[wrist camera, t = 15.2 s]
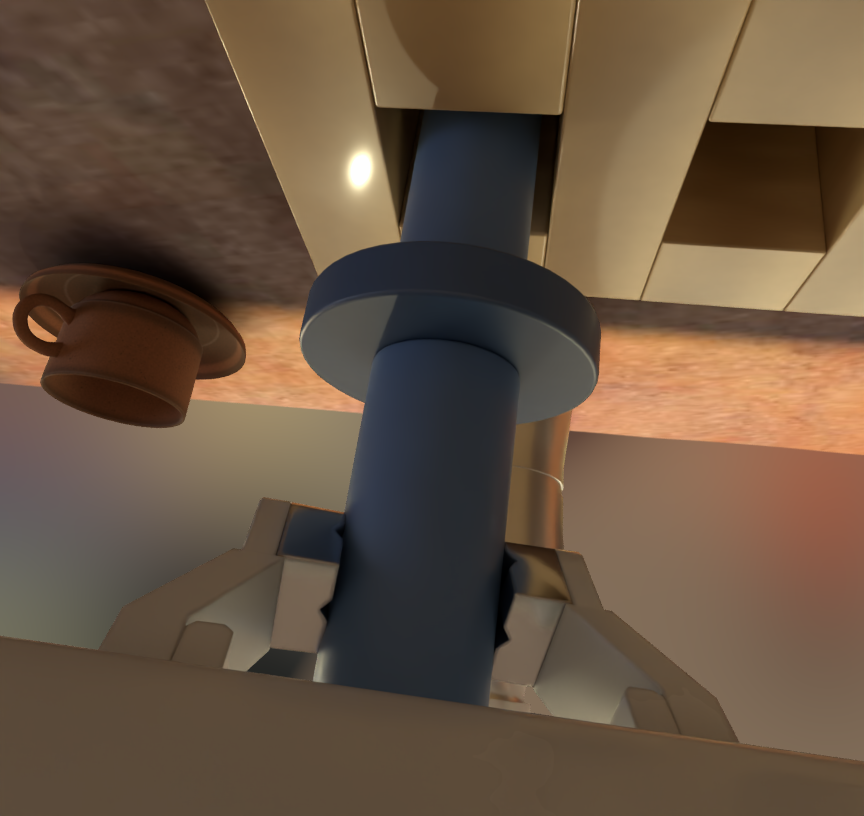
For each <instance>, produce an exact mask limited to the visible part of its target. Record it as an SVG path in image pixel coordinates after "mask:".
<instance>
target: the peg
mask: <svg viewBox="0 0 864 816" xmlns="http://www.w3.org/2000/svg"><path fill="white" fill-rule="evenodd" d="M541 120H542V114H523V113H498V112H474V111H450V110H426V109H424V114H423V120H422V125H421V131H420V136H419V142H418V147H417V152H416V158H415V163H414V169H413V174H412V180H411V185H410V191H409V196H408V201H407V207H406V212H405V218H404V223H403V229H402V234H401V240H400V242H396V243H390V244H383V245H377V246H373V247H369V248H366V249H362V250H359V251H356V252H354V253H351V254H348V255H346V256H344V257H342V258H341V259H339V260H337V261H335V262H333V263H332V264H331V265H330V266H328V267H327V268H326V269H325V270H323V272H322V273H321V274H320V275H319V276H318V278H317V279H316V280H315V281H314V283H313V285H312V287H311V290H310V293H309V297H308V301H307V306H306V310H305V314H304V318H303V323H302V327H301V332H300V338H299V340H300V347H301V351H302V353H303V356H304V358H305V360H306V361H307V363H308V364H309V366H310V367H311V368H312V369H313V370H314V371H315V372H316V373H317V374H318V375H319V376H320V377H321V378H322V379H324V380H325V381H326V382H327V383H329V384H330V385H332V386H333V387H335V388H336V389H338V390H340V391H341V392H343V393H345V394H347V395H349V396H351V397H353V398H355V399H357V400H359V401H362V402H364V403H365V405H364V410H363V416H362V421H361V426H360V432H359V437H358V442H357V448H356V454H355V458H354V464H353V469H352V475H351V480H350V485H349V491H348V496H347V501H346V507H345V512H344V513H345V514H346V524H345V529H344V533H343V536H342V539H343V545H342V551H341V557H340V563H339V568H338V573H337V578H336V583H335V588H334V594H333V599H332V600H331V601H330V602H329V614H328V622H327V627H326V631H325V633H324V636H323V638H322V641H321V644H320V648H319V652H318V656H317V662H316V668H315V672H314V678H313V681H315V682H322V683H329V684H336V685H342V686H349V687H356V688H363V689H370V690H377V691H384V692H391V693H397V694H404V695H411V696H418V697H425V698H432V699H439V700H446V701H452V702H459V703H466V704H473V705H480V706H487V707H489V698H490V688H491V677H492V667H493V657H494V647H495V637H496V626H497V616H498V606H499V596H500V586H501V575H502V565H503V555H504V545H505V535H506V524H507V514H508V504H509V494H510V483H511V473H512V463H513V453H514V443H515V432H516V424H523V423H531V422H535V421H540V420H545V419H548V418H551V417H555V416H558V415H560V414H563V413H565V412H568V411H570V410H571V409H573V408H575V407H577V406H578V405H580V404H581V403H582V402H584V401H585V400H586V399H587V398H588V397H589V396H590V394H591V393H592V392H593V390H594V388H595V386H596V384H597V381H598V376H599V361H600V342H601V329H600V322H599V320H598V317H597V315H596V312H595V310H594V308H593V307H592V305H591V304H590V302H589V301H588V299H587V298H586V297H585V296H584V295H583V294H582V293H581V292H580V291H579V290H578V289H577V288H576V287H574V286H573V285H572V284H570V283H569V282H568V281H567V280H565V279H564V278H562V277H561V276H559V275H557V274H556V273H554V272H552V271H551V270H549V269H547V268H545V267H542V266H540V265H538V264H536V263H534V262H532V261H529V260H527V258H528V249H529V239H530V229H531V219H532V209H533V199H534V189H535V179H536V169H537V160H538V150H539V140H540V130H541Z"/></svg>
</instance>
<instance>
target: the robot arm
mask: <svg viewBox="0 0 864 816" xmlns="http://www.w3.org/2000/svg"><path fill="white" fill-rule="evenodd" d="M345 524H346V514H345V513H344V512H339V511H334V510H329V509H323V508H318V507H313V506H308V505H303V504H297V503H292V504H291V503H290V502H289V501H282V500H277V499H271V498H265V497H263V498H262V499H261V500H260V502H259V504H258V507H257V510H256V512H255V515H254V518H253V521H252V523H251V526H250V529H249V531H248V534H247V537H246V539H245V542H244V545H243V547H242V550H241V549H235V548H234V549H231V550H230V551H228V552H226V553H224V554H222V555H220V556H218V557H216V558H214V559H212V560H210V561H209V562H207V563H205V564H203V565H201V566H199V567H197V568H195V569H194V570H191V571H190V572H188V573H186V574H184V575H182V576H180V577H178V578H176V579H174V580H172V581H171V582H169V583H167V584H165V585H163V586H161V587H159V588H157V589H155V590H154V591H152V592H150V593H148V594H146V595H144V596H142V597H140V598H138V599H136V600H135V601H133V602H131V603H129V604H127V605H125V606H124V607H122V609H121V611H120V612H119V614H118V616H117V618H116V619H115V621H114V623H113V625H112V626H111V628H110V630H109V632H108V633H107V635H106V637H105V639H104V640H103V642H102V644H101V646H100V647H99V649H98V650H95V649H88V648H81V647H74V646H67V645H60V644H53V643H47V642H40V641H33V640H26V639H19V638H12V637H5V636H0V816H864V761H858V760H851V759H844V758H838V757H830V756H824V755H817V754H810V753H803V752H797V751H790V750H783V749H775V748H769V747H762V746H755V745H749V744H741V743H739V741H738V739H737V737H736V735H735V733H734V731H733V729H732V727H731V725H730V723H729V721H728V719H727V717H726V715H725V713H724V711H723V709H722V708H721V706H720V704H719V702H718V700H717V698H716V697H715V696H713V695H712V694H711V693H710V692H709V691H707V690H706V689H705V688H704V687H702V686H701V685H700V684H699V683H698V682H696V681H695V680H694V679H693V678H692V677H690V676H689V675H688V674H687V673H685V672H684V671H683V670H682V669H681V668H680V667H678V666H677V665H676V664H675V663H674V662H672V661H671V660H670V659H669V658H668V657H666V656H665V655H664V654H663V653H662V652H660V651H659V650H658V649H657V648H655V647H654V646H653V645H652V644H651V643H650V642H648V641H647V640H646V639H645V638H643V637H642V636H641V635H640V634H639V633H637V632H636V631H635V630H634V629H633V628H631V627H630V626H629V625H628V624H627V623H625V622H624V621H623V620H622V619H621V618H619V617H618V616H617V615H616V614H614V613H613V612H612V611H608V610H604V609H603V607H602V604H601V601H600V599H599V596H598V594H597V591H596V589H595V586H594V584H593V581H592V579H591V576H590V574H589V571H588V568H587V566H586V563H585V561H584V558H583V556H582V555H581V554H580V553H579V552H574V551H567V550H560V549H553V548H552V549H551V548H544V547H538V546H531V545H524V544H518V543H511V542H505V545H504V555H503V565H502V575H501V586H500V596H499V606H498V616H497V626H496V637H495V647H494V657H493V667H492V677H491V680H496V681H501V682H507V683H512V684H518V685H524V686H530V687H534V689H533V690H534V691H535V692H536V694H537V695H538V696H539V698H540V699H541V700H542V701H543V703H544V704H545V706H546V707H547V708H548V710H549V711H550V712H551V714H552V715H553V716H549V715H541V714H535V713H528V712H521V711H514V710H507V709H501V708H494V707H487V706H480V705H473V704H466V703H459V702H452V701H446V700H439V699H432V698H425V697H418V696H411V695H404V694H397V693H391V692H384V691H377V690H370V689H363V688H356V687H349V686H342V685H336V684H329V683H322V682H315V681H308V680H301V679H294V678H287V677H280V676H273V675H267V674H260V673H253V672H246V671H247V670H248V669H249V668H250V667H251V666H252V665H253V664H254V663H256V662H257V661H258V660H259V659H260V658H261V657H262V656H263V655H264V654H266V653H267V652H268V651H269V648H277V649H285V650H293V651H301V652H309V653H317V654H318V652H319V648H320V644H321V641H322V638H323V636H324V633H325V631H326V627H327V622H328V614H329V602H330V601H331V600H332V599H333V594H334V588H335V583H336V578H337V573H338V568H339V563H340V557H341V551H342V545H343V539H342V536H343V533H344V529H345Z"/></svg>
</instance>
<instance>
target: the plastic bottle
mask: <svg viewBox="0 0 864 816" xmlns="http://www.w3.org/2000/svg"><path fill="white" fill-rule="evenodd" d="M571 415H572V409H571V410H570V411H568V412H565V413H563V414H560V415H558V416H555V417H551V418H548V419H545V420H540V421H535V422H531V423H523V424H516V432H515V443H514V453H513V463H512V473H511V483H510V494H509V504H508V514H507V524H506V535H505V542H511V543H518V544H524V545H531V546H538V547H544V548H551V549H552V548H553V549H560V550H564V545H563V497H562V495H561V491H562V490H563V469H564V462H565V455H566V449H567V441H568V435H569V428H570V422H571ZM525 689H526V686H524V685H518V684H512V683H507V682H501V681H496V680H491V688H490V698H489V707H494V708H501V709H507V710H514V711H521V712H528V713H530V706H531V705H530V704H526V703H525V702H524V693H525Z"/></svg>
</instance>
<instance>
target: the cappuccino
mask: <svg viewBox="0 0 864 816" xmlns="http://www.w3.org/2000/svg"><path fill="white" fill-rule="evenodd" d="M19 298H20V301H19V303H18V304H17V305H16V307H15V309H14V312H13V327H14V330H15V332H16V334H17V336H18V338H19V339H20V340H21V341H22V342H23V343H24V344H25V345H26V346H27V347H29V348H30V349H32V350H34V351H36V352H38V353H40V354H42V355H45V356H50V358H49V360H48V363H47V365H46V368H45V370H44V373H43V375H42V378H41V381H40V383H41V386H42V388H43V389H44V390H45V391H46V392H47V393H48V394H49V395H51V396H52V397H54V398H55V399H57V400H59V401H60V402H62V403H64V404H66V405H68V406H71V407H73V408H75V409H77V410H80V411H82V412H85V413H88V414H91V415H93V416H96V417H100V418H103V419H107V420H111V421H114V422H119V423H123V424H129V425H134V426H141V427H151V428H167V427H174V426H178V425H180V424H182V423H183V422H184V420H185V417H186V413H187V408H188V405H189V402H190V398H191V394H192V391H193V387H194V383H195V379H215V378H221V377H225V376H229V375H231V374H233V373H235V372H237V371H238V370H240V369H241V368H242V366H243V365H244V363H245V358H246V348H245V344H244V341H243V339H242V337H241V335H240V334H239V333H238V331H237V330H236V328H235V327H234V325H233V324H232V323H231V322H230V321H229V320H228V319H227V318H226V317H225V316H224V315H223V314H222V313H221V312H220V311H219V310H217V309H216V308H215V307H214V306H212V305H211V304H209V303H208V302H206V301H205V300H203V299H202V298H200V297H198V296H197V295H195V294H193V293H191V292H189V291H187V290H185V289H183V288H181V287H179V286H177V285H175V284H173V283H170V282H168V281H165V280H163V279H160V278H157V277H154V276H152V275H148V274H145V273H142V272H138V271H134V270H131V269H126V268H121V267H116V266H110V265H103V264H93V263H71V264H63V265H57V266H53V267H50V268H46V269H42V270H40V271H37V272H35V273H34V274H32V275H31V276H30V277H29V278H28V279H27V280H26V281H25V282H24V284H23V285H22V287H21V289H20V292H19ZM28 315H29V316H30V317H31V318H32V319H33V320H34V321H35V322H36V323H37V324H39V325H40V326H41V327H42V328H44V329H45V330H46V331H48V332H49V333H51V334H52V335H54V336H55V337H57V340H56V342H46V341H43V340H41V339H39V338H37V337H36V336H35V335H34V334H33V333H32V332H31V331H30V329H29V326H28V322H27V319H28Z"/></svg>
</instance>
